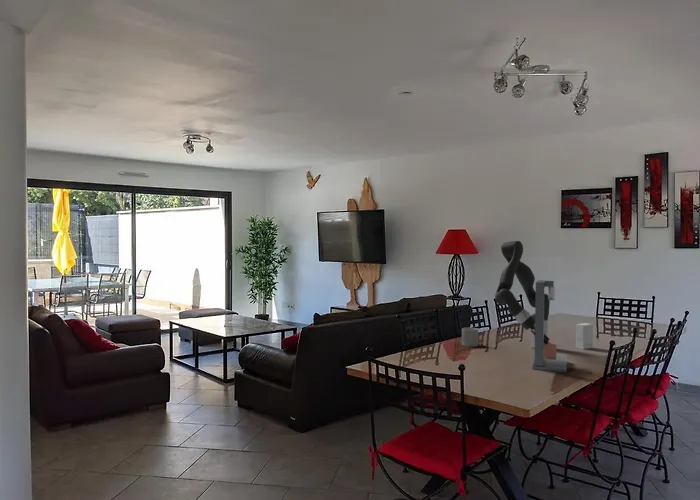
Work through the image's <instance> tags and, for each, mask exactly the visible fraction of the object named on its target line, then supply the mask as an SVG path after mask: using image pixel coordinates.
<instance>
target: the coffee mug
mask: <svg viewBox="0 0 700 500" xmlns="http://www.w3.org/2000/svg"><path fill="white" fill-rule="evenodd" d="M461 345H462V346H463V347H472V348H473V347H478V346H479V328H476V327H463V328H461Z"/></svg>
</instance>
